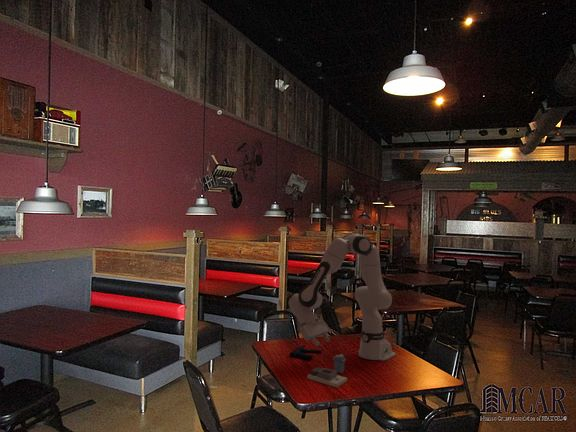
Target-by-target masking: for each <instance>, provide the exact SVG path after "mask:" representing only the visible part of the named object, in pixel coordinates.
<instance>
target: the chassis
mask: <svg viewBox="0 0 576 432" xmlns="http://www.w3.org/2000/svg"><path fill="white" fill-rule="evenodd" d="M306 378H307V380H311V381H314V382H317V383H321V384H324V385H328V386H330V387H334V388H338V387H341V386H342V385H343V384H344V383H347V382H348V377H345V376H342V375H339V374H338V372H337V371H334V369H329V368H326V367H324V368H321V367H315V368H313V369H310V373H309V374H307V377H306Z"/></svg>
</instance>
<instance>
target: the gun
mask: <svg viewBox="0 0 576 432" xmlns="http://www.w3.org/2000/svg"><path fill="white" fill-rule="evenodd" d="M305 346H306V345H305V344H302V345H300V346H298V347H296V348H295V349H294V350H292V351H291V352H289V356H290V357H291V358H292V357H293V358H299V359H302V360H305V361H307V362H309V361H311V360H312V359H314V357H313V355H314V354H320V355H322V352H323V351H322V350H319V349H307V348H306V347H305ZM305 348H306V349H305Z"/></svg>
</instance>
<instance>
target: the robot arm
mask: <svg viewBox="0 0 576 432" xmlns="http://www.w3.org/2000/svg"><path fill="white" fill-rule="evenodd" d="M349 253H351V254H355V255H357V254H358V255H359V258H360V260H359V261H360V273H361V275H360V276H361V279H362V280H363V281H364V283H365V285H364V286H363V285H362V286H359V287H357V288H356V290H355V292H354V297H355V300H356V301H357V303H358V305H359V308H360V312H361V319H362V321H361V323H362V325H361V326H362V327H361V328H362V329H361V339H360V344H359V349H358V356H359V357H360V358H363V359H366V360H371V361H387V360H389V359H391V358H393V357H395V356H396V355H397V353H396V352H394V351H393V349H392V344H391V342H389V341H388V339H386V338H385V337H386V336H387V335H388V332H387V331H383V317H382V315H381V314H380V313H379V310H387V309H389V308H390V307H391V305H392V303H393V298H392V295H391V293H390V292H389V291H388V289H387V288H386V286H385V283H384V280H383V277H382V276H383V275H382V268H381V259H380V258H381V257H380V253H379V249H378V247H377V246H376V245H374V244H372V241H371V239H370V238H369V236H366V235H365V234H364V235H363V234H359V233H349V234H346V235H345V236H343V237H336V238H334V239H333V240H332V241H331V242H330V244H329V245H328V247H327V249H326V250H325V253H323V256H322V259H321V260H320V263H319V264H318V266H317V268H316V269H315V271H314V273H312V274H313V275H312V276H311V278H310V279H309V280H308V282H307V284H306V285H305V286H304V287H303V288H302V289H300V291H299V293H295V294H293V295H291V297H290V298H289V300H288V306H289V309H290V310H291V312H292V314H293V315H294V316H295V317H296V318H297V321H298V323H299V324H298V329H299V331H300V334H301V336H302V338H303V339H304V341H306V342H307V341H310V342H312V343H313V344H315V346H316V347H319V346H320V345H321V342H320V341H318V340H317V339H316V338H319V337H324V341H325V342H326V343H329V342H330V338H329V335H328V333H329V332H330V327H329V326H328V324H327V323H326V322H325V320H324V319H323V317H322V316H321V315H320V314H317V313H313V311H314V310H316V309H318V308H320V306H322V304H323V300H324V299H323V295H322V293H320V292H319V289H320V287H321V285H322V284H324V283H323V282H324V280H325V279H326V278H327V277H328V276H329V275H330V274H333V273H337V272H338V271H339V269H340V268H341V266H342V265H343V262H344V260H345V258H346V257H347V255H348V254H349Z"/></svg>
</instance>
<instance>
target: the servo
mask: <svg viewBox="0 0 576 432" xmlns="http://www.w3.org/2000/svg"><path fill="white" fill-rule="evenodd" d="M332 360H334V361H333V363H334V365H333V370H334V371H337V374H338V373H340V374H342V373H344V372H345V362H346V361H347V359H346V358H345V356H344V354H337V355H335V356H333V357H332Z"/></svg>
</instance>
